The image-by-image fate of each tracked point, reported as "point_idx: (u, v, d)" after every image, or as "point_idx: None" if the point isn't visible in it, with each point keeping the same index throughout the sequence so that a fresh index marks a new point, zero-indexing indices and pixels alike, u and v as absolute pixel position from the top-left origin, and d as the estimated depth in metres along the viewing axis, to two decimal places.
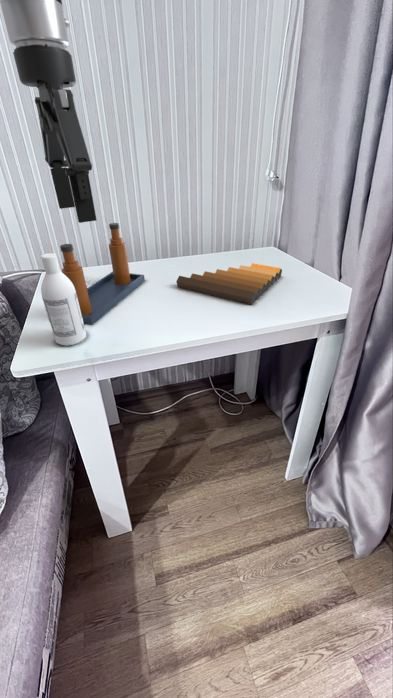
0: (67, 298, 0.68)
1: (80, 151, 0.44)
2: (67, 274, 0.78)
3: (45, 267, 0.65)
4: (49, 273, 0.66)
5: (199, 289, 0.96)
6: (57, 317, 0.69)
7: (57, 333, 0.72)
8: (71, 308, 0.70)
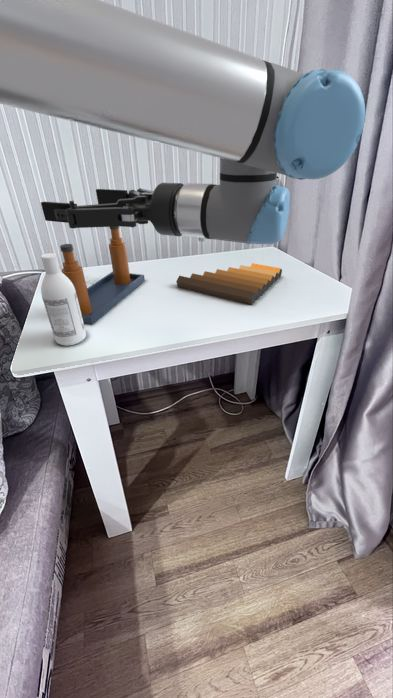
0: (67, 298, 0.68)
1: (82, 220, 0.46)
2: (67, 274, 0.78)
3: (45, 267, 0.65)
4: (49, 273, 0.66)
5: (199, 289, 0.96)
6: (57, 317, 0.69)
7: (57, 333, 0.72)
8: (71, 308, 0.70)
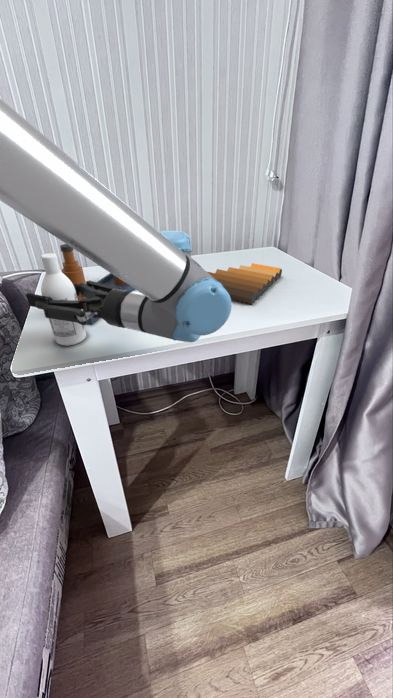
0: (67, 298, 0.68)
1: (52, 314, 0.64)
2: (67, 274, 0.78)
3: (45, 267, 0.65)
4: (49, 273, 0.66)
5: None
6: None
7: (57, 333, 0.72)
8: None
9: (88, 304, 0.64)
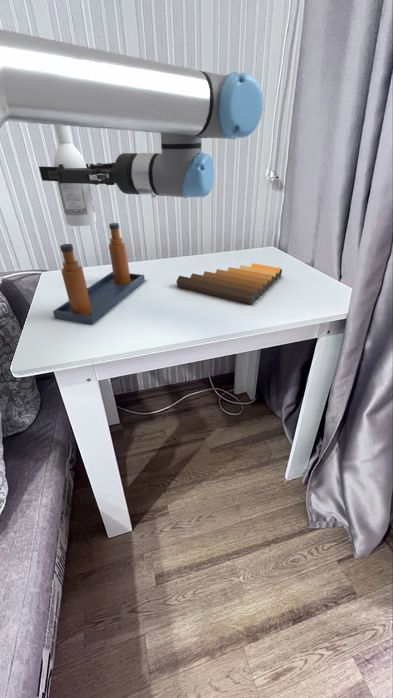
0: None
1: (65, 177, 0.66)
2: (67, 274, 0.78)
3: (58, 135, 0.67)
4: (62, 142, 0.68)
5: (199, 289, 0.96)
6: (69, 191, 0.71)
7: (69, 211, 0.74)
8: None
9: (100, 169, 0.66)
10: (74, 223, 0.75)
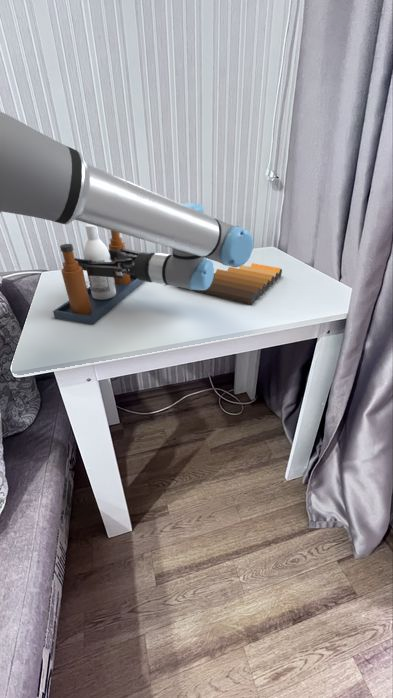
0: (104, 259, 0.86)
1: (94, 272, 0.81)
2: (67, 274, 0.78)
3: (88, 234, 0.84)
4: (91, 239, 0.84)
5: None
6: None
7: (95, 289, 0.90)
8: None
9: (122, 263, 0.83)
10: (99, 298, 0.92)
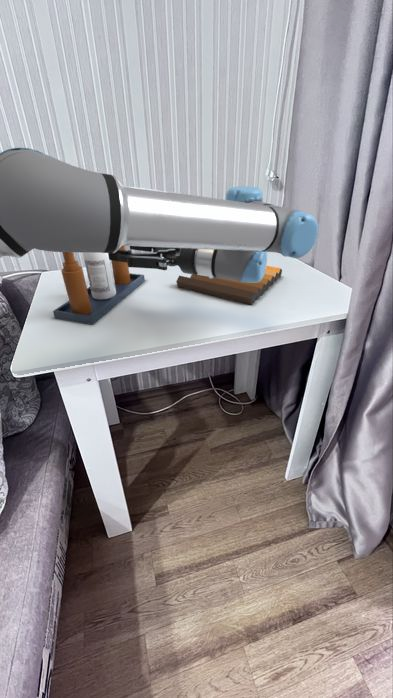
0: (104, 259, 0.86)
1: (135, 263, 0.75)
2: (67, 274, 0.78)
3: None
4: None
5: (199, 289, 0.96)
6: (96, 275, 0.88)
7: (95, 289, 0.90)
8: (106, 268, 0.88)
9: (165, 254, 0.76)
10: (99, 298, 0.92)
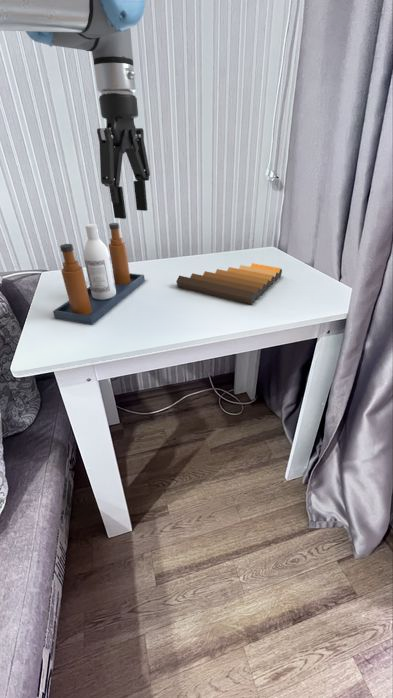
0: (104, 259, 0.86)
1: (106, 172, 0.66)
2: (67, 274, 0.78)
3: (88, 234, 0.84)
4: (91, 239, 0.84)
5: (199, 289, 0.96)
6: (96, 275, 0.88)
7: (95, 289, 0.90)
8: (106, 268, 0.88)
9: None
10: (99, 298, 0.92)
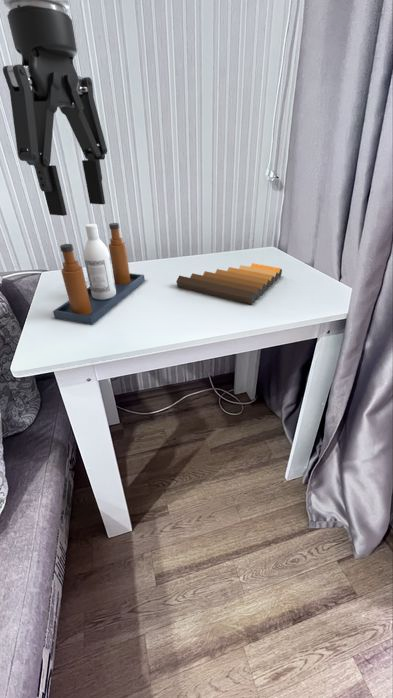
0: (104, 259, 0.86)
1: (24, 140, 0.41)
2: (67, 274, 0.78)
3: (88, 234, 0.84)
4: (91, 239, 0.84)
5: (199, 289, 0.96)
6: (96, 275, 0.88)
7: (95, 289, 0.90)
8: (106, 268, 0.88)
9: None
10: (99, 298, 0.92)
